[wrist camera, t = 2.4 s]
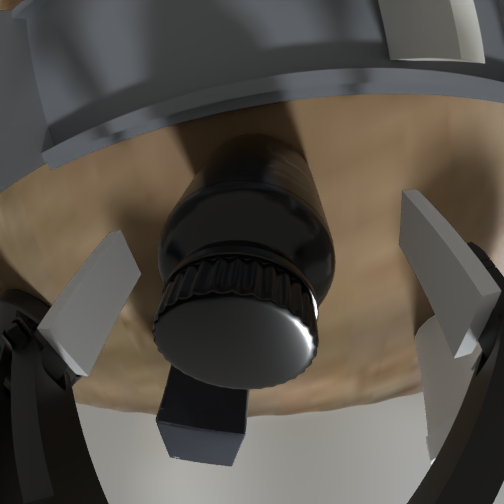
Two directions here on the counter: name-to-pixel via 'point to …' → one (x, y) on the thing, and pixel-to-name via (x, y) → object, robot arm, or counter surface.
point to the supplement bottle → (244, 268)
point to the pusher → (432, 30)
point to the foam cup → (441, 381)
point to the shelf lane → (198, 66)
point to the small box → (202, 419)
